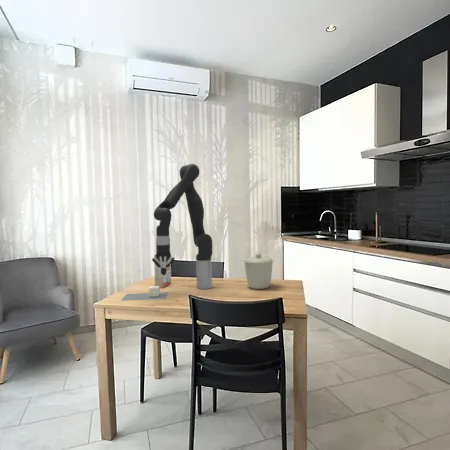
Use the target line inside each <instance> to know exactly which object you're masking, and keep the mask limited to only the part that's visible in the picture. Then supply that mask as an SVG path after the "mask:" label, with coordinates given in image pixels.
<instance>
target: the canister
mask: <svg viewBox="0 0 450 450" xmlns="http://www.w3.org/2000/svg"><path fill="white" fill-rule="evenodd" d="M243 262H244V268H245V276H246V282H247V286H248V287H249V288H251V289H254V290H263V289H264V290H266V289H269V288H270V286H271V281H272V275H273V274H272V273H273V263H274V259H272V258H271V257H267V256H262V253H261V252H256V253H255V256H250V257H247V258H245V259H244V260H243Z"/></svg>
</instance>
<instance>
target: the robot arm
mask: <svg viewBox="0 0 450 450" xmlns="http://www.w3.org/2000/svg"><path fill="white" fill-rule="evenodd" d="M199 175H200V167H199V166H198V165H197V164H195V163H189V164H186V165H185V164H184V165H183V166H181V167H180V169H179V178H180V180H179V182H178V183H177V184H175V186H174V187H172V189H170V191H169V193H168V194H167V195H166V197H165V198H164V200H163V201H162V202H161V203H159V204H158V206H156V208H155V209H154V211H153V217H154V219H155V220H156V221H159V225H157V226H156V227H155V228H156V229H155V230H156V239H155V240H156V241H155V247H156V253H155V255H156V257H154V256H153V257H152V259H151V261H152V262H153V264H154V263H155V264H156V266H157V267H160V268H161V274H162V275H165V274H166V268H167V267H169V266H170V265H172V263H173V262H174V261H175V259H176V258H175V257H173V256H172V253H171V254H170V252H171V239H170V227H171V221H172V211H171V210H172V209H174V208H175V207H177V204H178V203H179V201H180V200H181V198H182V197H183V195H184V196H185V200H186V204H187V209H188V214H189V218H190V223H191V228H192V236H193V243H194V245H195V246H196V248H197V251H198V252H197V254H196V256H195V265H196V266H195V267H196V288H197V289H199V290H209V289H213V275H212V273H213V272H212V256H213V239H212V237H211V235H209V234H208V233H206V232H205V227H204V218H205V210H204V209H205V208H204V203H203V201H202V200H203V199H202V198H201V196H200V195H199V193H198V192H197V190H196V188H195V185H194V182H195V181H196V180H197V178H199ZM156 258H157V259H158V260H159V262H160V264H159V263H158V262H157V261H156V260H157V259H156ZM169 258H170V260H171V261H170V262H169V264H168V265H167V261H168V260H169ZM163 262H164V268H163Z"/></svg>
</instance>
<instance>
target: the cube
mask: <svg viewBox="0 0 450 450" xmlns="http://www.w3.org/2000/svg"><path fill="white" fill-rule="evenodd" d="M160 289H161V288H159V286H155V285H150V286H149V288H148V290H149V291H148V293H149V297H159V295H160V291H161V290H160Z"/></svg>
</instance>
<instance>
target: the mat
mask: <svg viewBox="0 0 450 450" xmlns="http://www.w3.org/2000/svg"><path fill="white" fill-rule="evenodd" d="M168 295H169V291H168V292H167V291H164V292H163V291H162V292H160V295H159V297H149V292H144V293H142V292H137V293H126V294H125V295H124V296H123V297H122V299H121V300H120V301H121V302H123V301H125V302H126V301H127V302H128V301H144V300H145V301H146V300H148V301H149V300H151V301H152V300H166V299H167V297H168Z"/></svg>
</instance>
